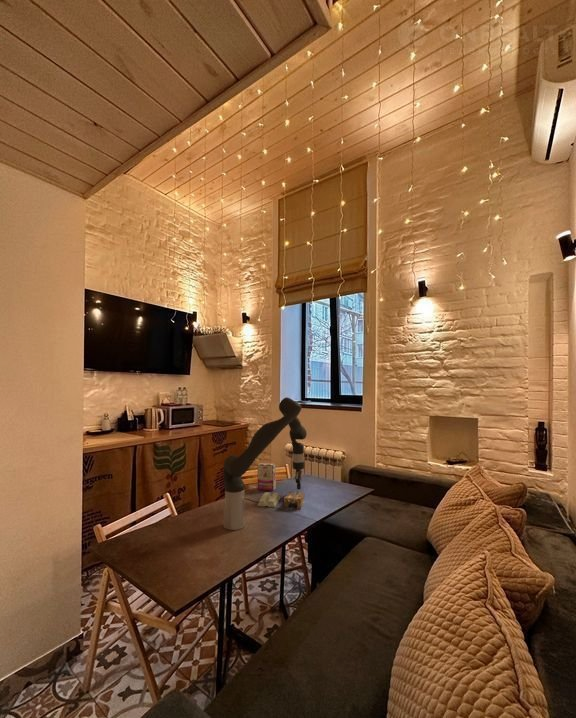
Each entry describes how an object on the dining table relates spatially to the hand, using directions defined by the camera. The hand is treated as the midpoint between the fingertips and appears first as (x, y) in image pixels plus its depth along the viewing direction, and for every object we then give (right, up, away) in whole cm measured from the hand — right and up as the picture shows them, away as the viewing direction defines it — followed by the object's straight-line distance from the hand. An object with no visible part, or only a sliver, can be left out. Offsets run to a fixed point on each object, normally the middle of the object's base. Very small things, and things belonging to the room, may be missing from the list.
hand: (298, 489), depth 202 cm
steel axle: (-2, -3, -11) cm, 12 cm away
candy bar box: (-21, -5, +11) cm, 24 cm away
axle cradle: (-18, -3, -12) cm, 21 cm away
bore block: (-3, -3, -14) cm, 15 cm away
